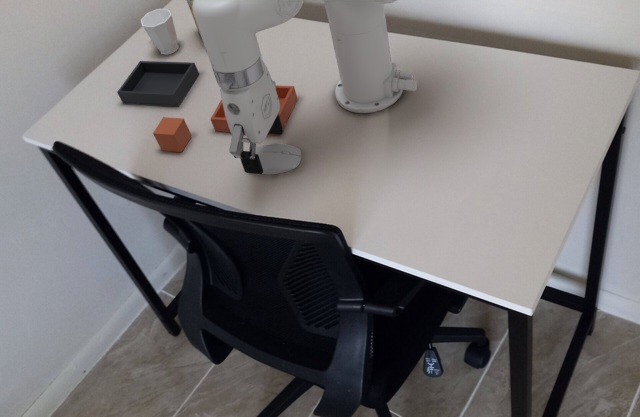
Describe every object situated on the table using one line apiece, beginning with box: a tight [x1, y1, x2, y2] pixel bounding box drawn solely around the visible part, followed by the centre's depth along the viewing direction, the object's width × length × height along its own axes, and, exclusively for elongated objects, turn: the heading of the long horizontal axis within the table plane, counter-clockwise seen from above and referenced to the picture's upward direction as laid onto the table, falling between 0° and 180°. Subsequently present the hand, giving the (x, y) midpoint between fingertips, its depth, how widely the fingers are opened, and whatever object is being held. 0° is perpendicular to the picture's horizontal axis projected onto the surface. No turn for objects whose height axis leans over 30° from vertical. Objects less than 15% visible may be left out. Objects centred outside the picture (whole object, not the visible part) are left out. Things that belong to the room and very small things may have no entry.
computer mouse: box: [256, 142, 302, 175], centre depth 111 cm, size 6×10×3 cm, turn 87°
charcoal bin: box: [116, 60, 200, 108], centre depth 132 cm, size 13×10×3 cm
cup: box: [140, 8, 180, 56], centre depth 140 cm, size 7×10×8 cm
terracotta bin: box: [210, 84, 298, 136], centre depth 121 cm, size 13×10×3 cm
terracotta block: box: [152, 116, 192, 153], centre depth 119 cm, size 4×4×4 cm
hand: (264, 152), depth 109 cm, fingers open, 9 cm apart
